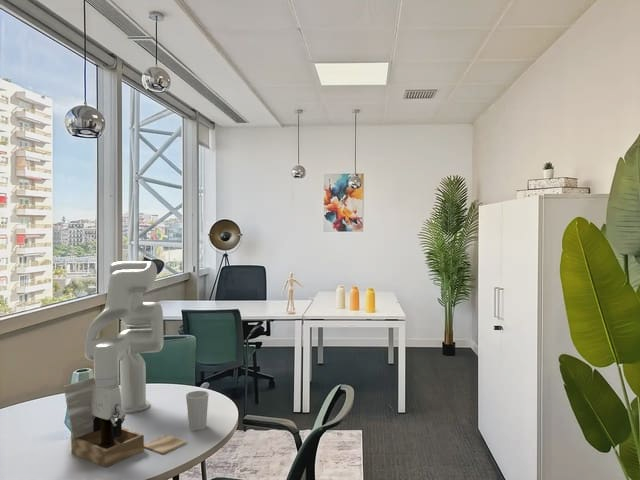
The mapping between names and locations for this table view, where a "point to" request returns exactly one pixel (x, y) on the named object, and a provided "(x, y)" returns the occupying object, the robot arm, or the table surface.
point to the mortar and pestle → (107, 434)
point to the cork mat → (164, 444)
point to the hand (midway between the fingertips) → (107, 433)
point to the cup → (197, 409)
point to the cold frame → (84, 435)
